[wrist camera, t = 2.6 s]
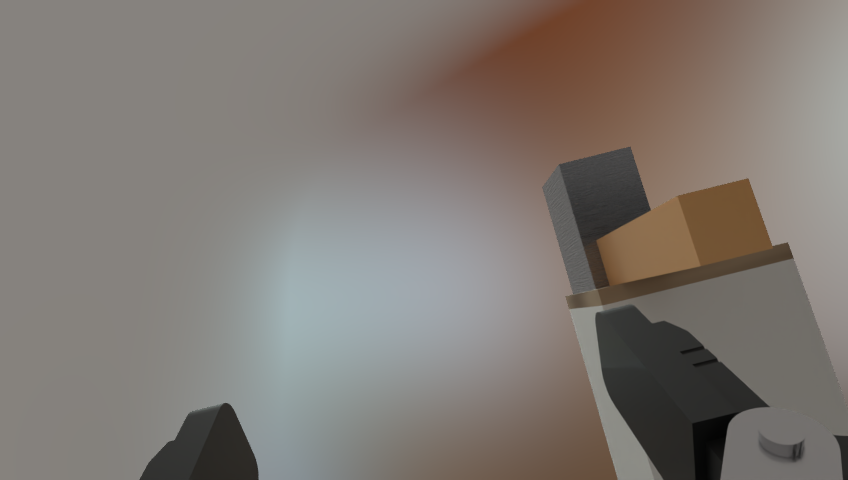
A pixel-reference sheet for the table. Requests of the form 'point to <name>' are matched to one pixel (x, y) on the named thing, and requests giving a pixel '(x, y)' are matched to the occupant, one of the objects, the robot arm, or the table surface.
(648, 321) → the robot arm
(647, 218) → the grey hammer
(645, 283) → the plinth
